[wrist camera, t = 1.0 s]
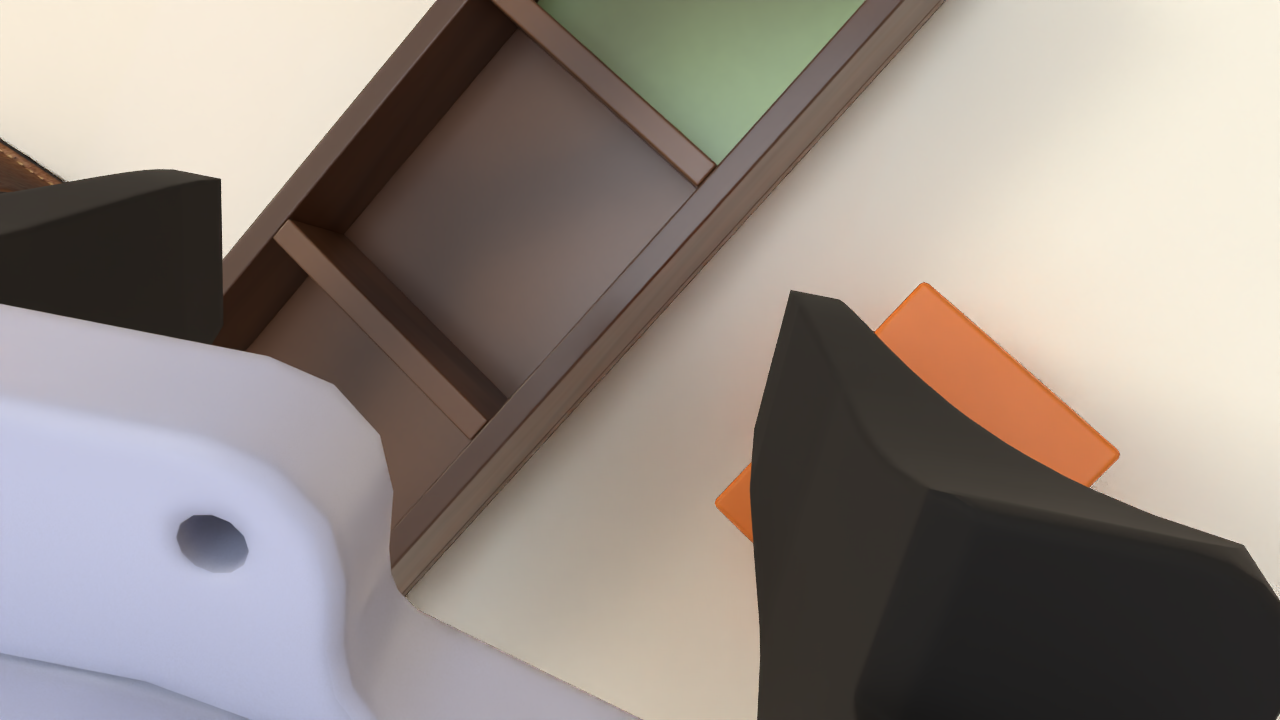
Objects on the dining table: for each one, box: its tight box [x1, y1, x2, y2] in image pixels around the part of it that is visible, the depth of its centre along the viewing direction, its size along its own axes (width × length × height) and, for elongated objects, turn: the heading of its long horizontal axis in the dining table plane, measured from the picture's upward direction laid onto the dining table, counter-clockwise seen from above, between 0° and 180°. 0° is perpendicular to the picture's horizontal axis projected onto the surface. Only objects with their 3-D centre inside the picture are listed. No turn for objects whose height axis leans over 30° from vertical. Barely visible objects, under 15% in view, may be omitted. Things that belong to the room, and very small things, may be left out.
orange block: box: [715, 282, 1120, 543], centre depth 20 cm, size 4×5×6 cm
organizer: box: [212, 0, 945, 596], centre depth 24 cm, size 8×22×3 cm, turn 136°
